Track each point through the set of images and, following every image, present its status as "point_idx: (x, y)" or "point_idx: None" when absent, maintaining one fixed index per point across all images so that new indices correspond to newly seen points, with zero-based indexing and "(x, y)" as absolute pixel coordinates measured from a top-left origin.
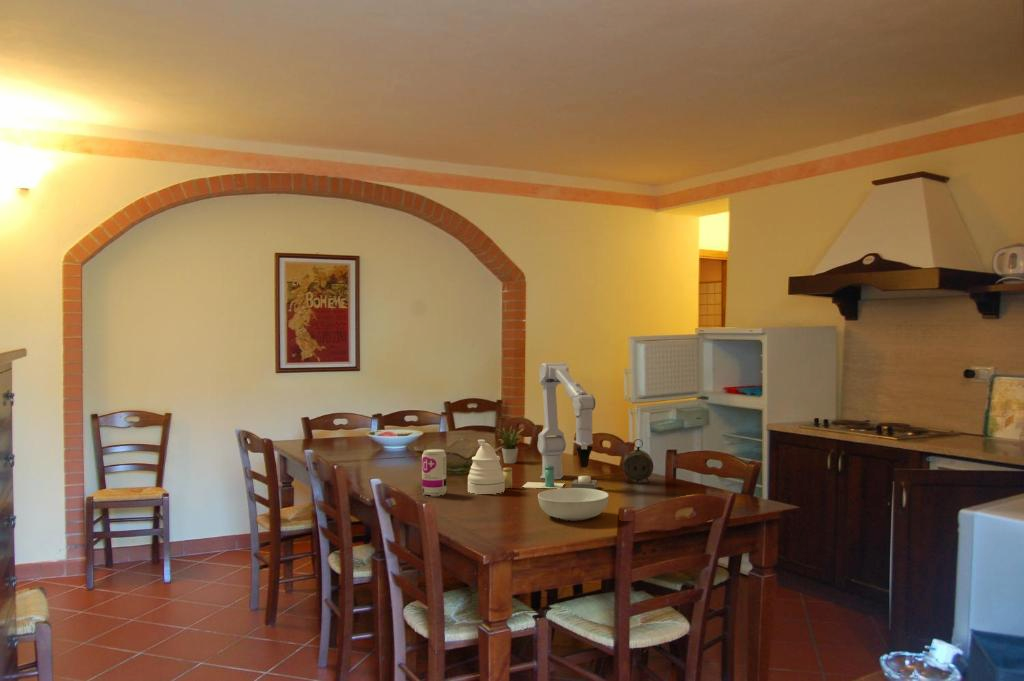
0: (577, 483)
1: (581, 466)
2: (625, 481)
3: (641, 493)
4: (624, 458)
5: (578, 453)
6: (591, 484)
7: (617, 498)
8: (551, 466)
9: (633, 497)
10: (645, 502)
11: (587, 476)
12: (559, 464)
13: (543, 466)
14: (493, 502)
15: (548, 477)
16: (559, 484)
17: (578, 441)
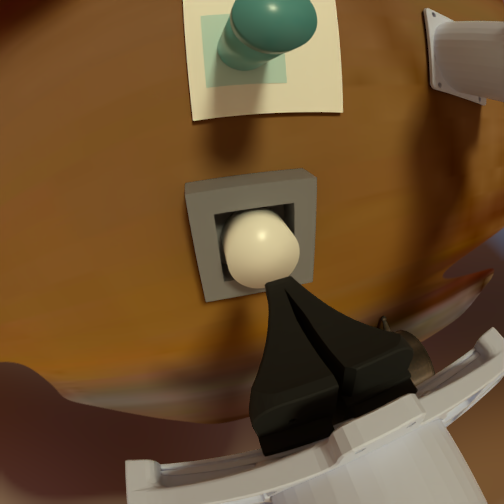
0: (197, 224)
1: (266, 286)
2: (382, 318)
3: (225, 389)
4: (423, 370)
5: (263, 361)
6: (203, 289)
7: (121, 364)
8: (282, 30)
9: (159, 388)
10: (119, 408)
11: (277, 269)
12: (490, 92)
13: (472, 22)
14: None
15: (224, 33)
16: (308, 88)
17: (295, 489)
